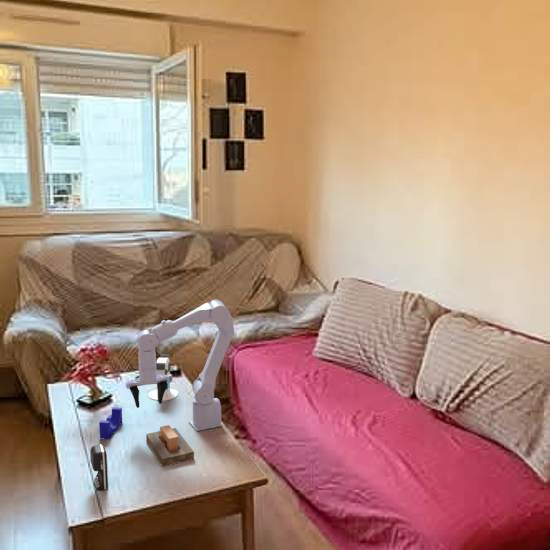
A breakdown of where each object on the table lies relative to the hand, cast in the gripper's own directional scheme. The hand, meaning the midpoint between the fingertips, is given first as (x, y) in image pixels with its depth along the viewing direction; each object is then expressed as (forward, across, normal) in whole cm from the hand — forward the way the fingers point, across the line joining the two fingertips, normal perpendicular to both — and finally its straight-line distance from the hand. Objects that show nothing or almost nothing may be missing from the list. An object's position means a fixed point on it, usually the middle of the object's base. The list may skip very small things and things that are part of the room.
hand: (148, 404), depth 200 cm
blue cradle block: (+10, +12, -6) cm, 17 cm away
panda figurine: (+10, -13, -27) cm, 31 cm away
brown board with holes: (+9, -2, +16) cm, 19 cm away
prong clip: (+9, -2, +15) cm, 18 cm away
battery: (+10, +22, +27) cm, 36 cm away
